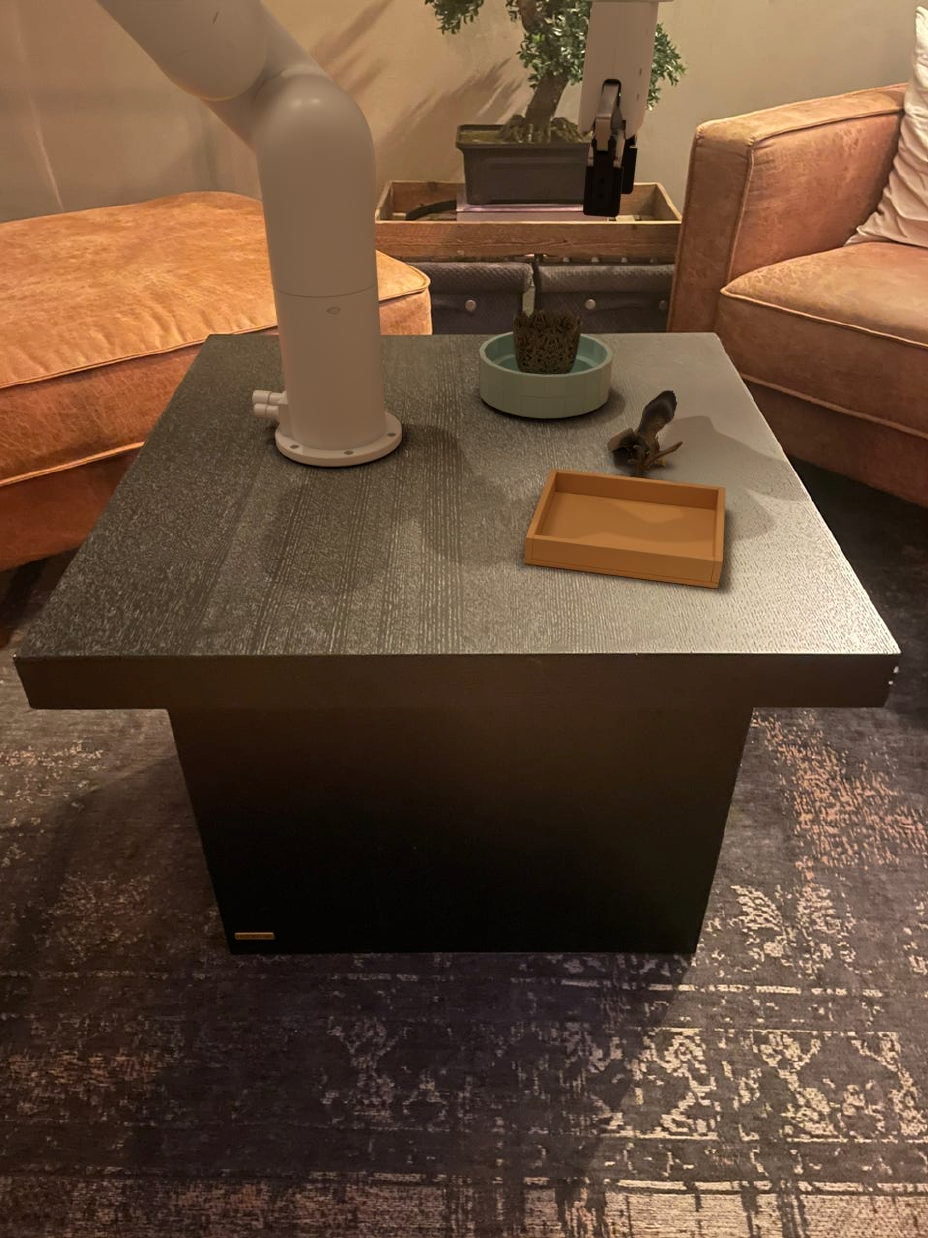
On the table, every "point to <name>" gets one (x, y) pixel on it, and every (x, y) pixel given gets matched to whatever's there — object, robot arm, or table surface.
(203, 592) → the table surface
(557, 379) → the bowl
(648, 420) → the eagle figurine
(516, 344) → the cup
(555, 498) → the tray
